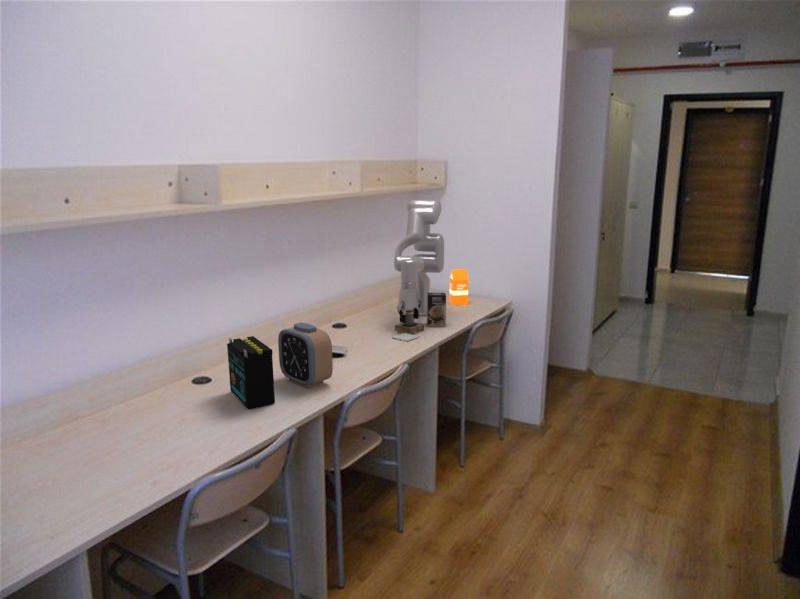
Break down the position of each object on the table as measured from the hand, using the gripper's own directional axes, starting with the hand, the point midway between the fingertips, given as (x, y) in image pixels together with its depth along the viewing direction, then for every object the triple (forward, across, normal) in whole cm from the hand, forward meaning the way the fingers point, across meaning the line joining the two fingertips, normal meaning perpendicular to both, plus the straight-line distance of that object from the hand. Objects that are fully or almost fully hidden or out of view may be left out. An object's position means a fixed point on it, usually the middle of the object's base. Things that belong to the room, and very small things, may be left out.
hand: (409, 320), depth 292 cm
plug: (+5, 0, 0) cm, 5 cm away
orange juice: (+5, -60, -13) cm, 62 cm away
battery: (+6, +99, +10) cm, 99 cm away
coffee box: (+5, -16, +4) cm, 17 cm away
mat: (+5, +10, +6) cm, 13 cm away
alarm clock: (+6, +77, +13) cm, 78 cm away
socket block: (+5, 0, 0) cm, 5 cm away
